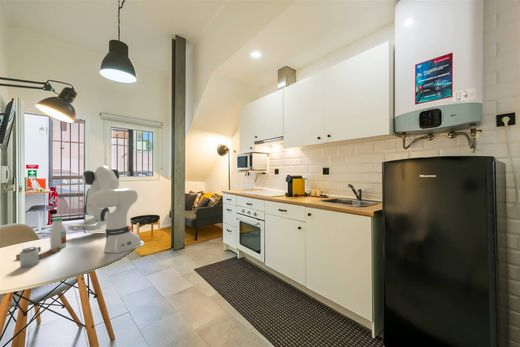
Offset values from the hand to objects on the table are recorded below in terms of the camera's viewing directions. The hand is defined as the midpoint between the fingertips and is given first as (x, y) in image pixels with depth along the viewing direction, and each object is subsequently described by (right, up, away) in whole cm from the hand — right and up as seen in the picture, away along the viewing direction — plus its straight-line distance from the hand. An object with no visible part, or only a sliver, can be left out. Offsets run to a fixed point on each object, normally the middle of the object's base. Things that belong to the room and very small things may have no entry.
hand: (74, 229), depth 155 cm
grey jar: (+9, -9, -38) cm, 40 cm away
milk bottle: (0, -9, -12) cm, 15 cm away
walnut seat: (0, -9, -24) cm, 26 cm away
